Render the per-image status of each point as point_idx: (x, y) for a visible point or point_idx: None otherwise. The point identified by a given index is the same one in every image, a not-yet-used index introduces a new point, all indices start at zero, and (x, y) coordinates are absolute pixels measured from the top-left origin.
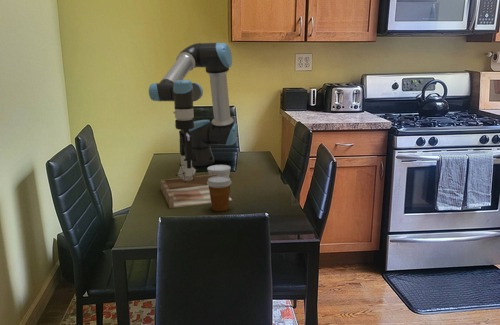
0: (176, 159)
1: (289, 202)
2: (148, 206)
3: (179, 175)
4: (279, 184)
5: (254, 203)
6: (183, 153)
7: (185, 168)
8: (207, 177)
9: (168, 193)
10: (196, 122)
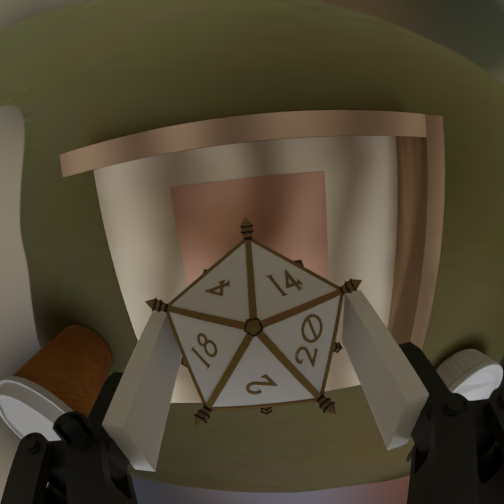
0: None
1: (145, 475)
2: (150, 40)
3: (225, 257)
4: (295, 488)
5: None
6: (431, 438)
7: (134, 356)
8: None
9: (109, 143)
10: None
